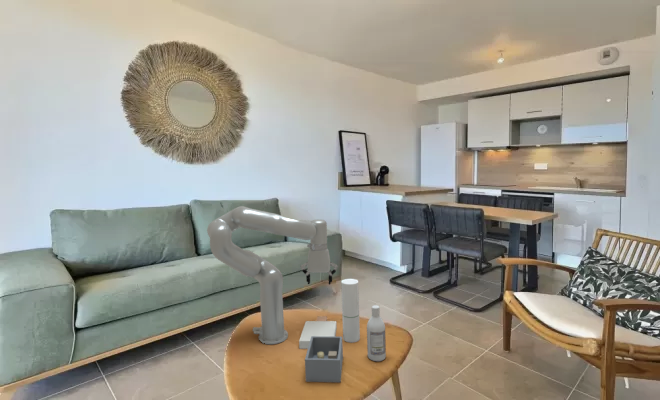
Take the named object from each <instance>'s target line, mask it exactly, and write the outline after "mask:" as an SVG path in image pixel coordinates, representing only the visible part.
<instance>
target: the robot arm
mask: <svg viewBox="0 0 660 400" xmlns="http://www.w3.org/2000/svg"><path fill="white" fill-rule="evenodd" d="M327 225H328V223H327V220H325V219H312V220H308V219H307V220H306V219H300V220H298V219H297V220H296V219H294V218H293V219H292V218H289V217H286V216H284V215H281V214H278V213H273V212H269V211H266V210H265V211H264V210H259V209H257V208H256V209H255V208H251V207H247V206H245V205H244V206H243V205H239V206H238V207H235V208H233V209H231V210H229V211H228V212H226V213H224V214H223V215H220V216H219V217H217V218H216V219H213V220H212V221H211V222H210V223H209V224H208V225H207V229H206V231H207V235H208V237H209V248H210V251H211V253H212V255H213V256H214V257H215V258H216V259H217V260H218V261H220V262H222V263H223V264H225V266H227V267H229V268H231V269H233V270H235V271H236V272H238V273H240V274H241V275H242V276H244V277H247V278H248V277H251V278H252V279H254V280H256V281H257V282H258V284H259V285H260V291H259V292H260V293H259V302H260V303H259V304H260V319H261V326H258V327H257V326H256V327H255V326H254V327H252V332H253V335H258V341H259V340H260V341H261V342H262V343H261V342H260V341H259V342H260V343H261V344H264V343H265V344H264V345H277V344H280V343H282V342H285V340H287V339H288V336H289V332H288V331H287V330H286V329H285V319H284V299H283V286H284V277H283V274H282V272H281V271H280V269H279V268H277V266H275V265H274V264H272V263H271V262H270V261H268V260H267V259H265V258H263V257H261V256H260V255H258V254H256V253H255V252H253V251H251V250H248V249H243V248H241V247H240V246H238V245H236V244H235V243H234V242H233V241H232V240H233V239H232V235H233V234H232V233H233V232H235V231H237V230H239V229H240V228H242V229H247V230H252V231H258V232H261V233H262V232H264V233H269V234H272V235H277V236H283V237H288V238H291V239H292V238H293V239H299V240H303V241H309V240H310V243H309V244H306V245H307V246H306V247H307V248H309V250H308V253H307V262H304V263H303V264H301V265H300V269H301V270H302V273H303V274H304V275H305V276H306V280H305V281H306V282H307V285H310V284H311V273H315V274H316V273H322V274H323V273H326V274H328V285H331V284H332V282H333V275H334V274H335V273H336V272H337V270H338V268H339V265H337V264H336V263H334V262H332V261H331V257H330V252H329V249H328V230H327V229H328V228H327V227H328V226H327ZM305 267H307V269H306V268H305ZM332 267H333V269H332V270H331V268H332Z"/></svg>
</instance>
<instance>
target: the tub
mask: <svg viewBox="0 0 660 400" xmlns="http://www.w3.org/2000/svg"><path fill="white" fill-rule="evenodd" d="M343 347H344V345H343V336H335V337H334V336H311V340H310V343H309V347H308V349H306V350H307V351H306V354H305V358H304V369H305V371H304V372H305V383H306V382H307V383H308V382H309V383H341V382H342V371H343V361H344V353H343V352H344V350H343V349H344V348H343Z"/></svg>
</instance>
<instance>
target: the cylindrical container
mask: <svg viewBox="0 0 660 400" xmlns="http://www.w3.org/2000/svg"><path fill="white" fill-rule="evenodd" d="M340 284H341V308H342V309H341V310H342V311H341V313H342V315H341V316H342V341H344V342H347V343H350V344H351V343H356V342H359V341H360V339H361V332H360V331H361V330H360V299H359V298H360V297H359V289H360V288H359V280H358V279H356V278H345V279H342V280H341V282H340Z"/></svg>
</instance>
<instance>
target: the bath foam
mask: <svg viewBox="0 0 660 400" xmlns="http://www.w3.org/2000/svg"><path fill="white" fill-rule="evenodd" d="M380 311H381V310H380V305H377V304H376V305H375V304H374V305H372V306H371V316H370V318H369V319H368V321H367V323H366V338H367V339H366V346H367V347H366V349H367V350H366V351H367V358H368V359H370V360H371V361H373V362H382V361H383V360H385V359H386V356H387V355H386V353H387V351H386V350H387V348H386V347H387V346H386V345H387V344H386V325H385V321H384V320H383V319H382V317H381V314H380Z"/></svg>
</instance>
